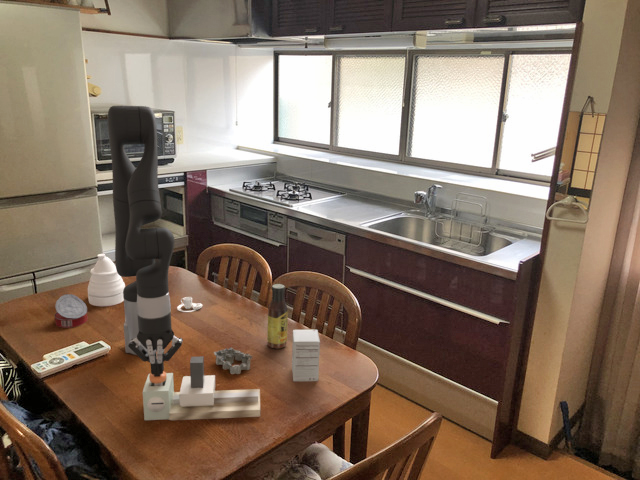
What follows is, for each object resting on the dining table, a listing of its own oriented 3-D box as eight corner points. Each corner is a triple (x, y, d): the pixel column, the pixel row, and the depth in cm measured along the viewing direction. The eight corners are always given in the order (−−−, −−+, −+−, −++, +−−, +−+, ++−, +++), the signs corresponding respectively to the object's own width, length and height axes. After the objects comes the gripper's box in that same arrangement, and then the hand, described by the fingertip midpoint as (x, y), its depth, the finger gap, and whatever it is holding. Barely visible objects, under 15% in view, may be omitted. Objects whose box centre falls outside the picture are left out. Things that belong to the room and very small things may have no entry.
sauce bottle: (284, 350, 162) (285, 291, 156) (264, 348, 163) (265, 289, 157) (289, 341, 168) (290, 283, 162) (270, 338, 169) (271, 281, 163)
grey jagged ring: (254, 368, 152) (254, 356, 150) (232, 377, 147) (232, 365, 145) (233, 354, 159) (233, 342, 158) (212, 362, 154) (211, 349, 153)
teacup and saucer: (205, 308, 190) (205, 298, 188) (189, 315, 183) (189, 305, 182) (188, 302, 194) (188, 292, 193) (172, 309, 188) (171, 299, 186)
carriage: (179, 410, 127) (178, 368, 124) (183, 391, 135) (182, 351, 131) (213, 409, 128) (212, 367, 125) (215, 390, 136) (214, 351, 132)
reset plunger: (149, 401, 127) (147, 379, 126) (152, 392, 131) (150, 370, 129) (166, 400, 128) (164, 378, 126) (168, 391, 132) (167, 370, 130)
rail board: (169, 420, 127) (168, 408, 126) (174, 398, 135) (174, 387, 134) (260, 416, 130) (260, 404, 129) (259, 395, 138) (259, 384, 137)
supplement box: (291, 367, 152) (292, 328, 149) (316, 367, 153) (318, 328, 149) (292, 382, 145) (293, 341, 142) (318, 381, 146) (320, 341, 142)
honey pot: (118, 307, 187) (114, 259, 182) (82, 305, 187) (77, 258, 182) (131, 293, 199) (127, 248, 194) (97, 291, 199) (93, 246, 194)
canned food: (83, 327, 181) (95, 301, 181) (80, 337, 172) (93, 310, 172) (49, 315, 177) (62, 289, 177) (44, 325, 168) (58, 297, 168)
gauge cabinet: (144, 421, 126) (142, 393, 124) (150, 400, 134) (148, 373, 132) (169, 420, 127) (168, 392, 125) (174, 400, 135) (173, 372, 133)
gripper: (121, 317, 118) (126, 384, 123) (180, 316, 120) (183, 382, 125) (128, 304, 125) (133, 367, 130) (184, 303, 127) (187, 366, 132)
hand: (157, 374), depth 128 cm, fingers closed
